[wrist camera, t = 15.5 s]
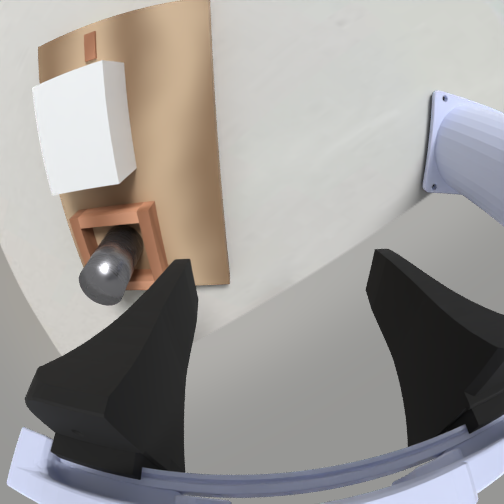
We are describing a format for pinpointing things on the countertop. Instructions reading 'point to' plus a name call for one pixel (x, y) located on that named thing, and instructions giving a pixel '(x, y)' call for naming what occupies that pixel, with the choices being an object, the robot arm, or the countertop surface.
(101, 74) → the plain white cuboid
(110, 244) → the grey metal cylinder
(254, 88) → the countertop surface
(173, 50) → the board
